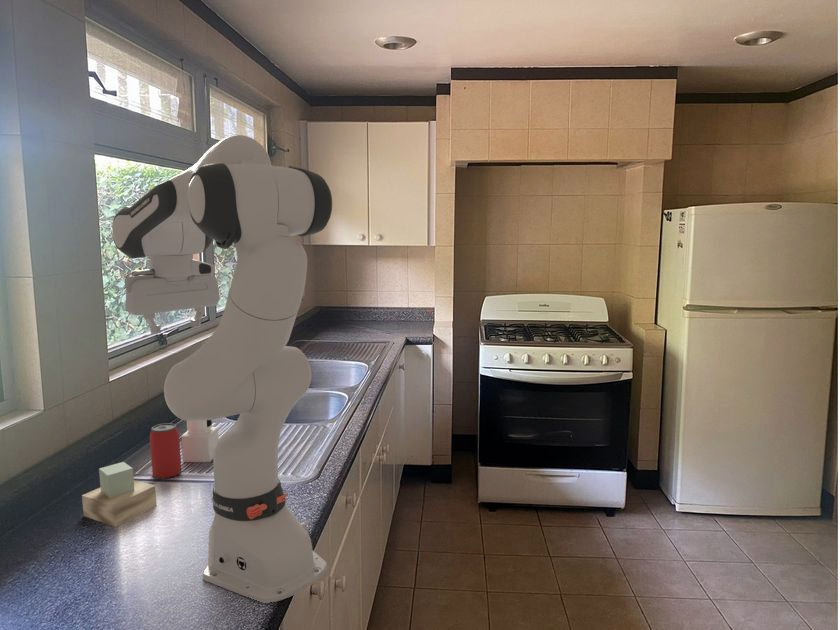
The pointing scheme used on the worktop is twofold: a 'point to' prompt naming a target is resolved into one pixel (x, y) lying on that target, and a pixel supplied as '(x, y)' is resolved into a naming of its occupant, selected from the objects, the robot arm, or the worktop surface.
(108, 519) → the birch block
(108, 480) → the sage block
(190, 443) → the medicine bottle
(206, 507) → the worktop surface
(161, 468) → the beer can
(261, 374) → the robot arm
